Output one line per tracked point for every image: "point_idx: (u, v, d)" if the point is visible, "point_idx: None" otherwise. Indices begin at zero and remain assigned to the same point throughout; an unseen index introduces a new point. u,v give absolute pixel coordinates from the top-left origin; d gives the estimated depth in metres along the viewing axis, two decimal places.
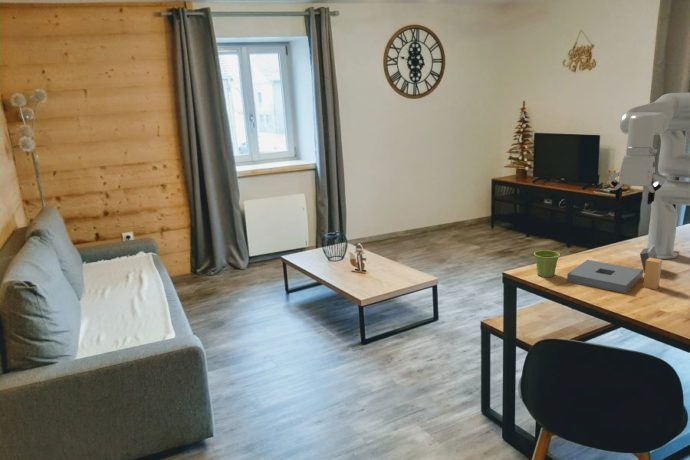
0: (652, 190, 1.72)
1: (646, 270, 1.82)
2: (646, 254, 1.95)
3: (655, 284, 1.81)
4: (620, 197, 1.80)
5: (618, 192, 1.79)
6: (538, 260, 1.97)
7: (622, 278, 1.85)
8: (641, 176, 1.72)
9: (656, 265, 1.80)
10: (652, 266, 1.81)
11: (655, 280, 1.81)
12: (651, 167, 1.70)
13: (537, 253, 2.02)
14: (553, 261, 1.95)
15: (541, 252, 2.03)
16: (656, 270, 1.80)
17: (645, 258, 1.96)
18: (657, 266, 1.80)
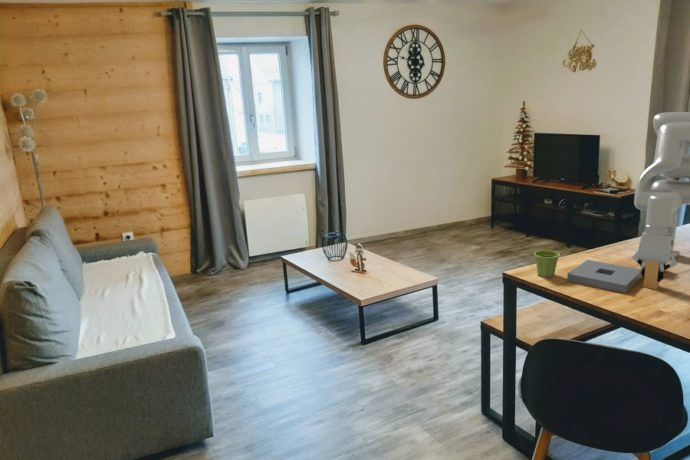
0: (662, 269, 1.80)
1: (646, 270, 1.82)
2: None
3: (655, 284, 1.81)
4: None
5: (644, 271, 1.83)
6: (538, 260, 1.97)
7: (622, 278, 1.85)
8: (660, 254, 1.78)
9: (656, 265, 1.80)
10: (652, 266, 1.81)
11: (655, 280, 1.81)
12: (669, 246, 1.76)
13: (537, 253, 2.02)
14: (553, 261, 1.95)
15: (541, 252, 2.03)
16: (656, 270, 1.80)
17: None
18: (657, 266, 1.80)
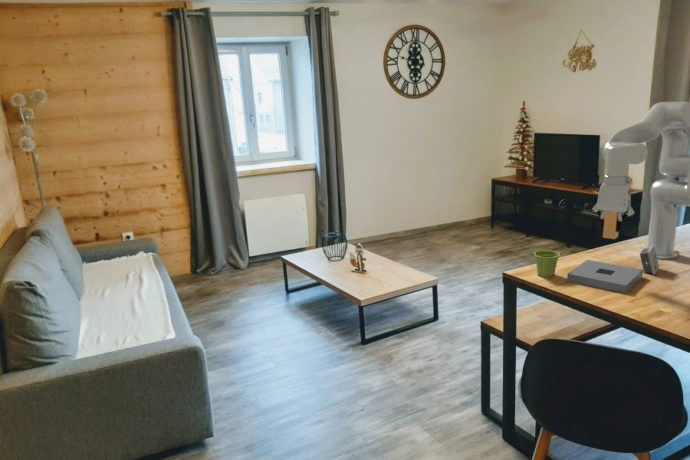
0: (620, 219, 1.84)
1: (605, 220, 1.86)
2: (646, 254, 1.95)
3: (614, 234, 1.85)
4: None
5: (603, 221, 1.87)
6: (538, 260, 1.97)
7: (622, 278, 1.85)
8: (617, 203, 1.82)
9: (615, 215, 1.84)
10: (611, 216, 1.85)
11: (614, 230, 1.85)
12: (627, 195, 1.80)
13: (537, 253, 2.02)
14: (553, 261, 1.95)
15: (541, 252, 2.03)
16: (614, 220, 1.84)
17: (645, 258, 1.96)
18: (615, 216, 1.84)
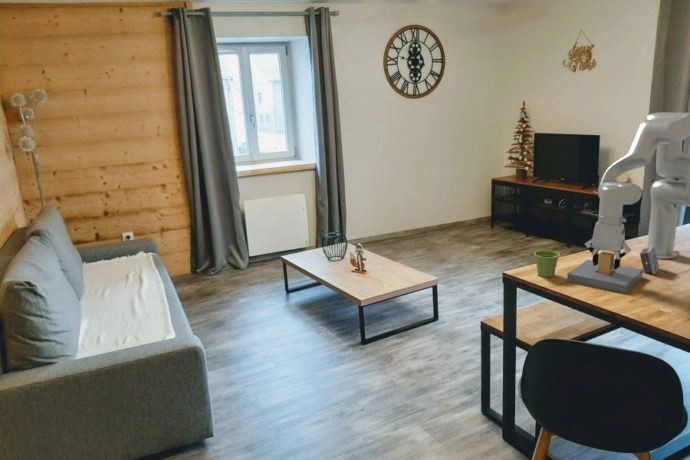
0: (618, 257, 1.87)
1: (599, 263, 1.91)
2: (646, 254, 1.95)
3: None
4: (597, 262, 1.94)
5: (595, 258, 1.92)
6: (538, 260, 1.97)
7: (622, 278, 1.85)
8: (611, 242, 1.86)
9: (608, 259, 1.89)
10: (604, 260, 1.90)
11: (607, 273, 1.90)
12: (620, 235, 1.84)
13: (537, 253, 2.02)
14: (553, 261, 1.95)
15: (541, 252, 2.03)
16: (608, 263, 1.89)
17: (645, 258, 1.96)
18: (609, 260, 1.88)
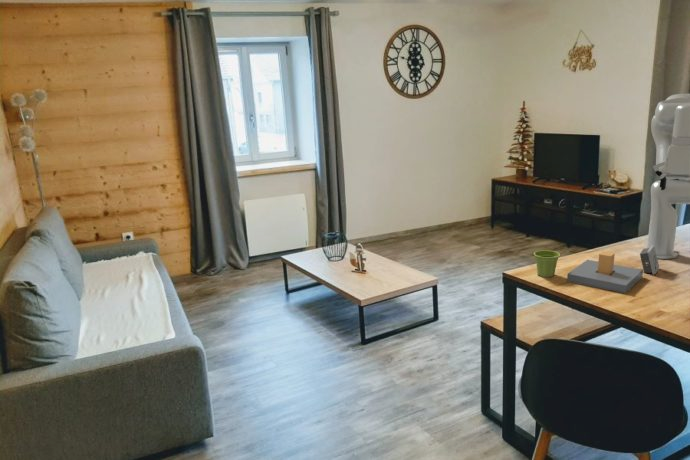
0: None
1: (599, 263, 1.91)
2: (646, 254, 1.95)
3: None
4: (664, 186, 1.83)
5: (663, 181, 1.82)
6: (538, 260, 1.97)
7: (622, 278, 1.85)
8: (687, 165, 1.75)
9: (608, 259, 1.89)
10: (604, 260, 1.90)
11: (607, 273, 1.90)
12: None
13: (537, 253, 2.02)
14: (553, 261, 1.95)
15: (541, 252, 2.03)
16: (608, 263, 1.89)
17: (645, 258, 1.96)
18: (609, 260, 1.88)
